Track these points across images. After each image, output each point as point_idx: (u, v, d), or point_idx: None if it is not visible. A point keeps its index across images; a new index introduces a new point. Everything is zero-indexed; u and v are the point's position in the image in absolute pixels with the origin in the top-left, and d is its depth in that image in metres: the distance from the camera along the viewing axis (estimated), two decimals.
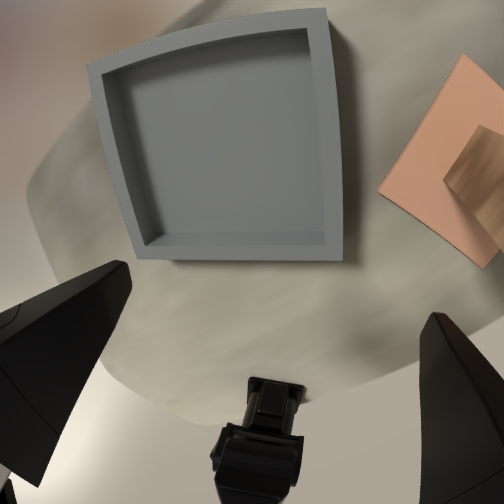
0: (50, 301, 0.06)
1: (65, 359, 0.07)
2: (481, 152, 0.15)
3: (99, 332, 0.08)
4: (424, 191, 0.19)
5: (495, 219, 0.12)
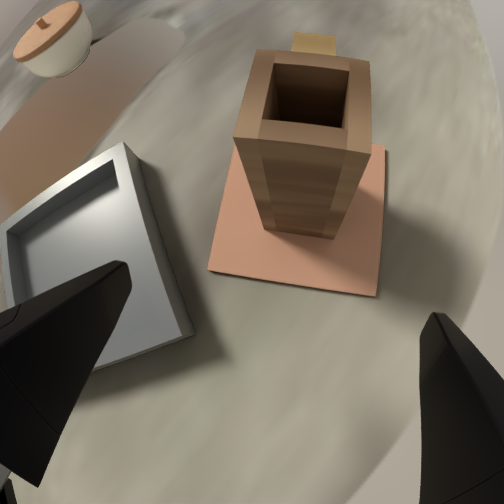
0: (50, 301, 0.06)
1: (65, 359, 0.07)
2: None
3: (99, 332, 0.08)
4: (251, 249, 0.22)
5: None
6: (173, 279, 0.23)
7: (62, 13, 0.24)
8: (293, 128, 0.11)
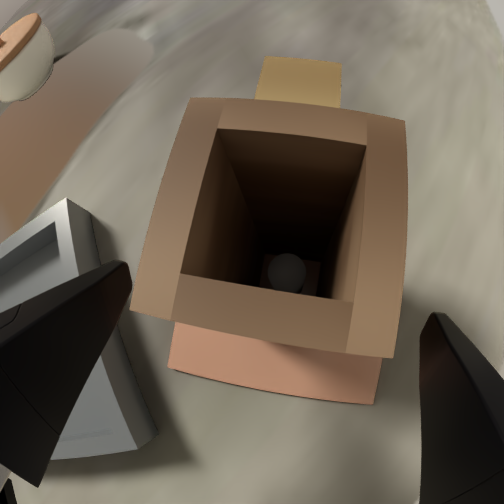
0: (50, 301, 0.06)
1: (65, 359, 0.07)
2: None
3: (99, 332, 0.08)
4: (219, 346, 0.17)
5: None
6: (129, 374, 0.17)
7: (19, 29, 0.19)
8: (241, 299, 0.06)
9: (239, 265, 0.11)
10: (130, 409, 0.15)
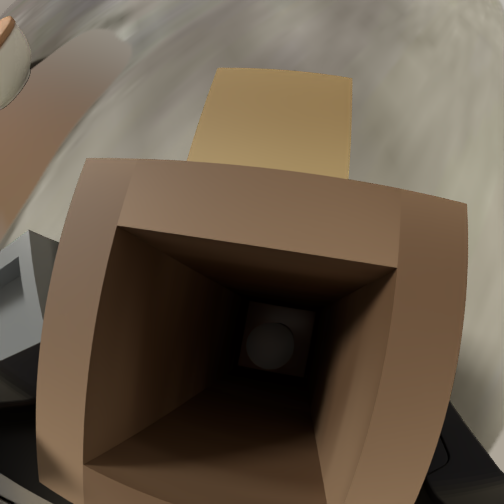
0: None
1: None
2: None
3: None
4: None
5: None
6: None
7: None
8: None
9: (205, 353, 0.08)
10: None
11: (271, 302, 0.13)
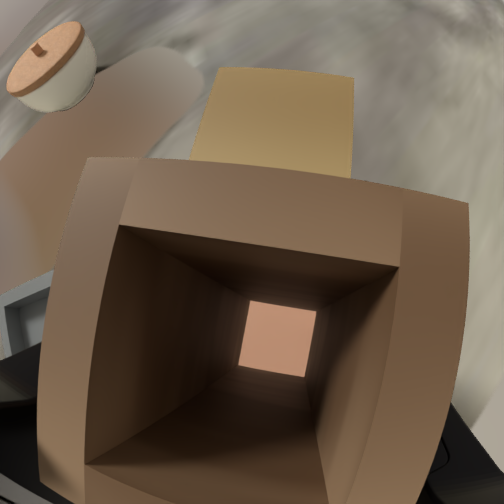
0: None
1: None
2: None
3: None
4: None
5: None
6: None
7: (61, 39, 0.22)
8: None
9: (206, 352, 0.08)
10: None
11: (272, 302, 0.13)
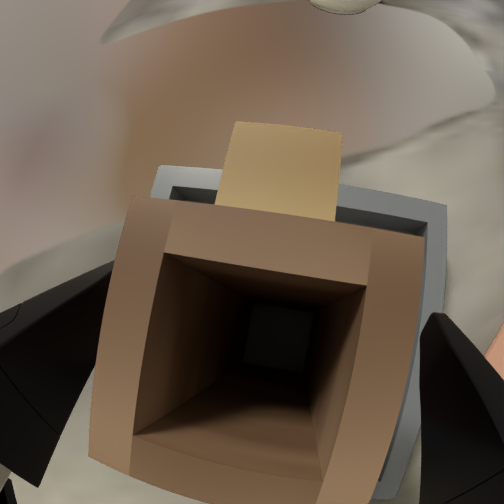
0: (50, 301, 0.06)
1: (65, 359, 0.07)
2: None
3: (99, 332, 0.08)
4: None
5: None
6: None
7: None
8: (199, 471, 0.04)
9: (217, 348, 0.10)
10: None
11: (273, 304, 0.15)
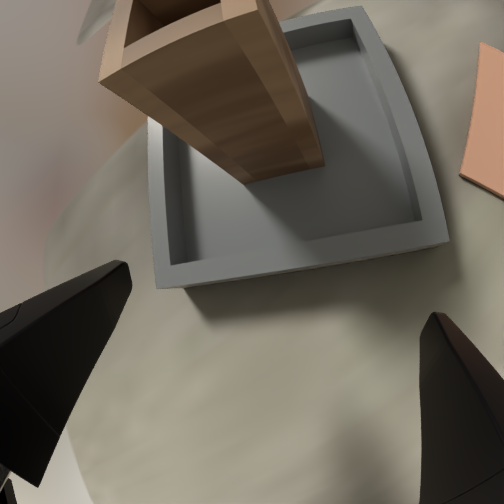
0: (50, 301, 0.06)
1: (65, 359, 0.07)
2: None
3: (99, 332, 0.08)
4: None
5: None
6: None
7: None
8: (157, 35, 0.07)
9: None
10: None
11: None
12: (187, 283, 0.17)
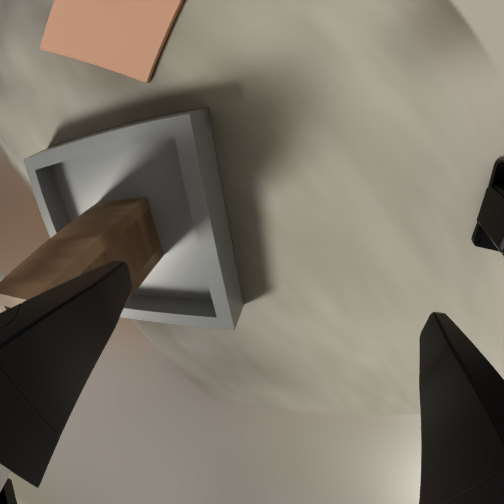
0: (50, 301, 0.06)
1: (65, 359, 0.07)
2: None
3: (99, 332, 0.08)
4: (137, 37, 0.16)
5: None
6: (148, 119, 0.19)
7: None
8: None
9: None
10: (163, 117, 0.17)
11: None
12: (229, 308, 0.23)
